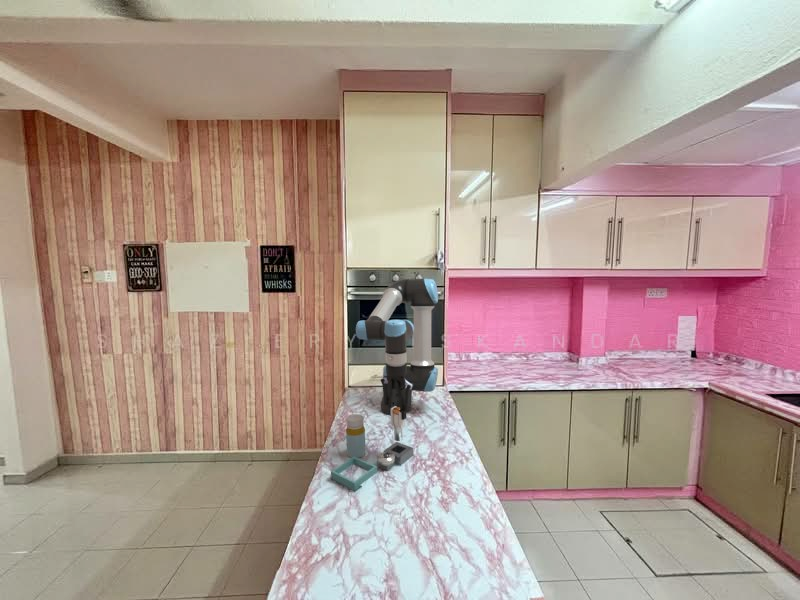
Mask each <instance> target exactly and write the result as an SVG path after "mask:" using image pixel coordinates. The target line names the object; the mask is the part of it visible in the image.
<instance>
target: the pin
mask: <svg viewBox="0 0 800 600" xmlns="http://www.w3.org/2000/svg"><path fill="white" fill-rule="evenodd" d="M399 410H400V407H395V408H394V409H393V411H394V426H393V435H394V436H393V438H394V441H395V442H398V441H399V442H401V441H402V440H403V439H404V438H403V428H402V429H399Z"/></svg>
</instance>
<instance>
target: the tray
mask: <svg viewBox="0 0 800 600" xmlns="http://www.w3.org/2000/svg"><path fill="white" fill-rule="evenodd" d="M353 465H356V466H358V467H361V468H363V469H364V470H367V471H366V472H365V473H363V474H362V475H360V476H359V477H358V478H356V479H355V480H353V479H351V478H349V477H347V476H345V475H343V474H341V473H343V472H344V471H346V470H347V469H348V468H350V467H351V466H353ZM377 473H378V466H377V465H374V464H372V463H370V462H368V461H366V460H363V459H361V458H356V457H352V458H349V459H348V460H346V461H345V462H343V463H342V464H340V465H339V466H336V467H335V468H334V469H332V470H331V471H330V479H331V481H333V482H334V483H336V484H339V485H340V486H343V487H344V488H346V489H348V490H350V491H351V492H354V493H356V492H357V491H358V490H360V489H361V488H362V487H363V486H362V484H364V483H365V482H366V481H368V480H369V479H371V477H373V476H375V475H376V474H377Z"/></svg>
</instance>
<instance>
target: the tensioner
mask: <svg viewBox="0 0 800 600" xmlns="http://www.w3.org/2000/svg"><path fill="white" fill-rule="evenodd" d="M413 456H414V447H412V446H409V445H407V444H405V443H401V442H398V441H395V442H394V443H392V444H391V445H390V446H388V447H387V448H386V449H383V452H381V453H379V454H378V455H377V462H378V468H381V469H383V470H385V471H386V472H388V471H390V470H391V469H392V468H393V467H395V466H396V465H398V466H400V467H401V466H403V464H405V463H406V462H408V460H410V459H411V458H412V457H413Z"/></svg>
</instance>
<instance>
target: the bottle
mask: <svg viewBox="0 0 800 600" xmlns="http://www.w3.org/2000/svg"><path fill="white" fill-rule="evenodd" d="M364 422H365V421H364V416H363V414H360V413H359V414H358V413H355V414H350V415H348V416H347V417H346V430H345V436H346V437H345V438H346V440H345V441H346V456H347V457H348V458H349V459H351V458H352V457H356V458H359V459H361V458H363V457H365V456H366V454H367V451H366V450H367V449H366V447H367V446H366V428H365V426H364Z"/></svg>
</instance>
